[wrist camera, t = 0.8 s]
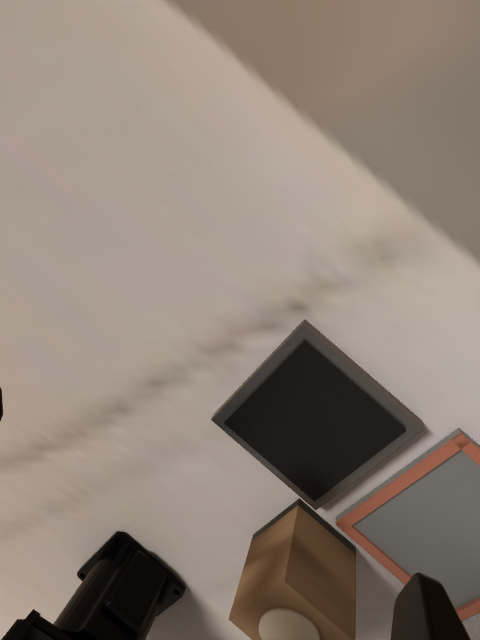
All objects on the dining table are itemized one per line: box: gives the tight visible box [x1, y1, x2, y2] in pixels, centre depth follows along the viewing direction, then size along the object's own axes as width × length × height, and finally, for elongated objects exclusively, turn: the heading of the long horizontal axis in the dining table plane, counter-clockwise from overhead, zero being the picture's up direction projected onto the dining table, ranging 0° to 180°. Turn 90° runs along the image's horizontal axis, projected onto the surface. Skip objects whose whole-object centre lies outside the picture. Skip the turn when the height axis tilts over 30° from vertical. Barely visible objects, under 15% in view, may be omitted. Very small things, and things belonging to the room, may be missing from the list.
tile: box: [336, 428, 480, 621], centre depth 23 cm, size 9×9×1 cm
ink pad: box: [211, 320, 424, 510], centre depth 23 cm, size 8×8×1 cm
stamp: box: [229, 498, 356, 640], centre depth 23 cm, size 4×4×6 cm
